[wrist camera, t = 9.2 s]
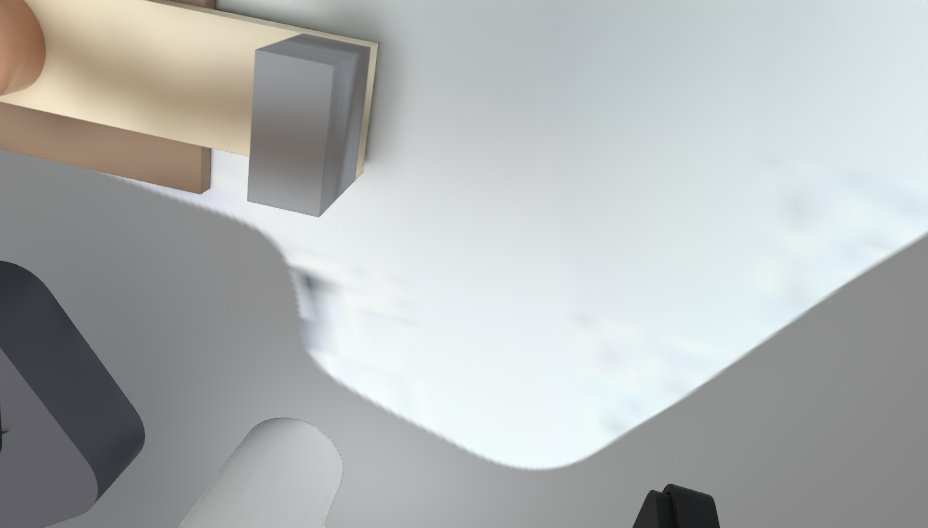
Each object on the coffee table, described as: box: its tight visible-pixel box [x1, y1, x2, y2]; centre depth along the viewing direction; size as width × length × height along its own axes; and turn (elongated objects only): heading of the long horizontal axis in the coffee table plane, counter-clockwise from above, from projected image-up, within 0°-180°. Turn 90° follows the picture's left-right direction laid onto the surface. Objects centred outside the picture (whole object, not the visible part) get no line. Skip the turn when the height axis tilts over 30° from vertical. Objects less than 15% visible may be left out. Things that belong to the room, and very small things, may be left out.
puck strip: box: [0, 0, 378, 217], centre depth 32 cm, size 6×22×6 cm, turn 80°
